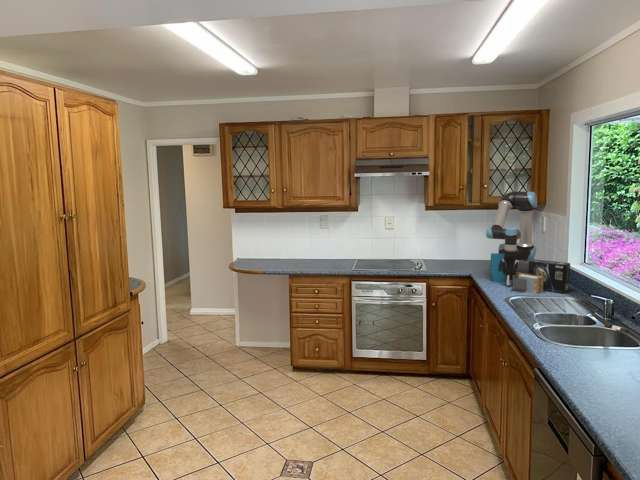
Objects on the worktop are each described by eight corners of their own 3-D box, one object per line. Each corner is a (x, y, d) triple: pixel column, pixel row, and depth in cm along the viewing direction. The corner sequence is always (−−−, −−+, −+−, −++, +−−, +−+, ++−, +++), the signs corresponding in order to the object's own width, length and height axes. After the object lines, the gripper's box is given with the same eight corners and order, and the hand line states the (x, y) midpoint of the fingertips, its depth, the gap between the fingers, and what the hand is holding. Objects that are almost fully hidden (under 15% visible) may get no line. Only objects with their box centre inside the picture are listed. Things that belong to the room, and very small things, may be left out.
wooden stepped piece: (515, 286, 315) (516, 272, 313) (543, 291, 301) (543, 276, 299) (507, 289, 308) (508, 274, 307) (535, 294, 294) (536, 278, 293)
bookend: (513, 289, 306) (514, 277, 305) (525, 291, 300) (525, 279, 299) (510, 290, 303) (510, 278, 302) (521, 292, 297) (522, 280, 296)
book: (521, 288, 309) (522, 274, 308) (539, 292, 300) (540, 276, 298) (517, 290, 306) (518, 275, 304) (535, 293, 296) (536, 278, 295)
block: (491, 282, 328) (493, 254, 326) (489, 280, 333) (490, 253, 331) (508, 282, 328) (510, 254, 326) (505, 280, 333) (507, 253, 331)
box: (527, 288, 310) (528, 260, 307) (532, 286, 317) (533, 258, 315) (564, 294, 294) (566, 265, 292) (569, 291, 301) (571, 262, 299)
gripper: (498, 250, 312) (496, 284, 315) (517, 252, 303) (515, 287, 306) (503, 248, 317) (502, 282, 320) (522, 251, 308) (520, 285, 311)
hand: (508, 284), depth 313 cm, fingers closed
